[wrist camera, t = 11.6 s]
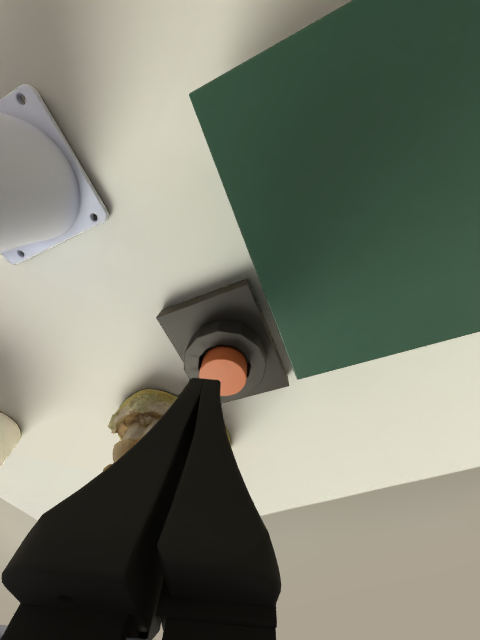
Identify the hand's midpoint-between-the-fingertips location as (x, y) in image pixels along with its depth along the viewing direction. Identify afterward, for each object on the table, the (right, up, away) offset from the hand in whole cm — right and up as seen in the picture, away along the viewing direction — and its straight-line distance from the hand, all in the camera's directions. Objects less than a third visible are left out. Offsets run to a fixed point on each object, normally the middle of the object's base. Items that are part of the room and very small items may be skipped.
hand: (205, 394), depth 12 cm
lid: (+8, +8, 0) cm, 11 cm away
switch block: (+1, +1, +11) cm, 11 cm away
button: (0, 0, +9) cm, 9 cm away
